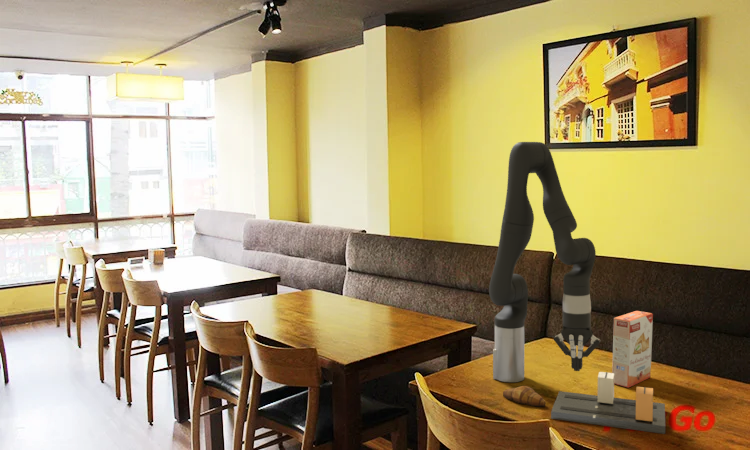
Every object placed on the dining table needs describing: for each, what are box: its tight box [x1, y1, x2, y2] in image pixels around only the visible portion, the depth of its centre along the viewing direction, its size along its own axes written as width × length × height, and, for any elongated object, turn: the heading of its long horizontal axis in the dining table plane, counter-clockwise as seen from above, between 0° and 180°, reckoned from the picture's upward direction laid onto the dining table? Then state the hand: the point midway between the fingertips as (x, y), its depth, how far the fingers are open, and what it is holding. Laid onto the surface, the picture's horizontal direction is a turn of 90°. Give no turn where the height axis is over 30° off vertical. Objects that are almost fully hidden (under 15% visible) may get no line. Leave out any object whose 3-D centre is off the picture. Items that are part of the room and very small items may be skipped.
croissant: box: [502, 385, 547, 408], centre depth 186 cm, size 14×7×5 cm, turn 47°
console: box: [550, 390, 666, 435], centre depth 176 cm, size 28×17×2 cm, turn 67°
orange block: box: [635, 386, 654, 421], centre depth 167 cm, size 4×5×7 cm
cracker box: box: [611, 310, 654, 388], centre depth 200 cm, size 14×6×21 cm, turn 130°
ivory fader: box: [597, 371, 615, 404], centre depth 180 cm, size 4×5×7 cm
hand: (577, 370), depth 182 cm, fingers closed
